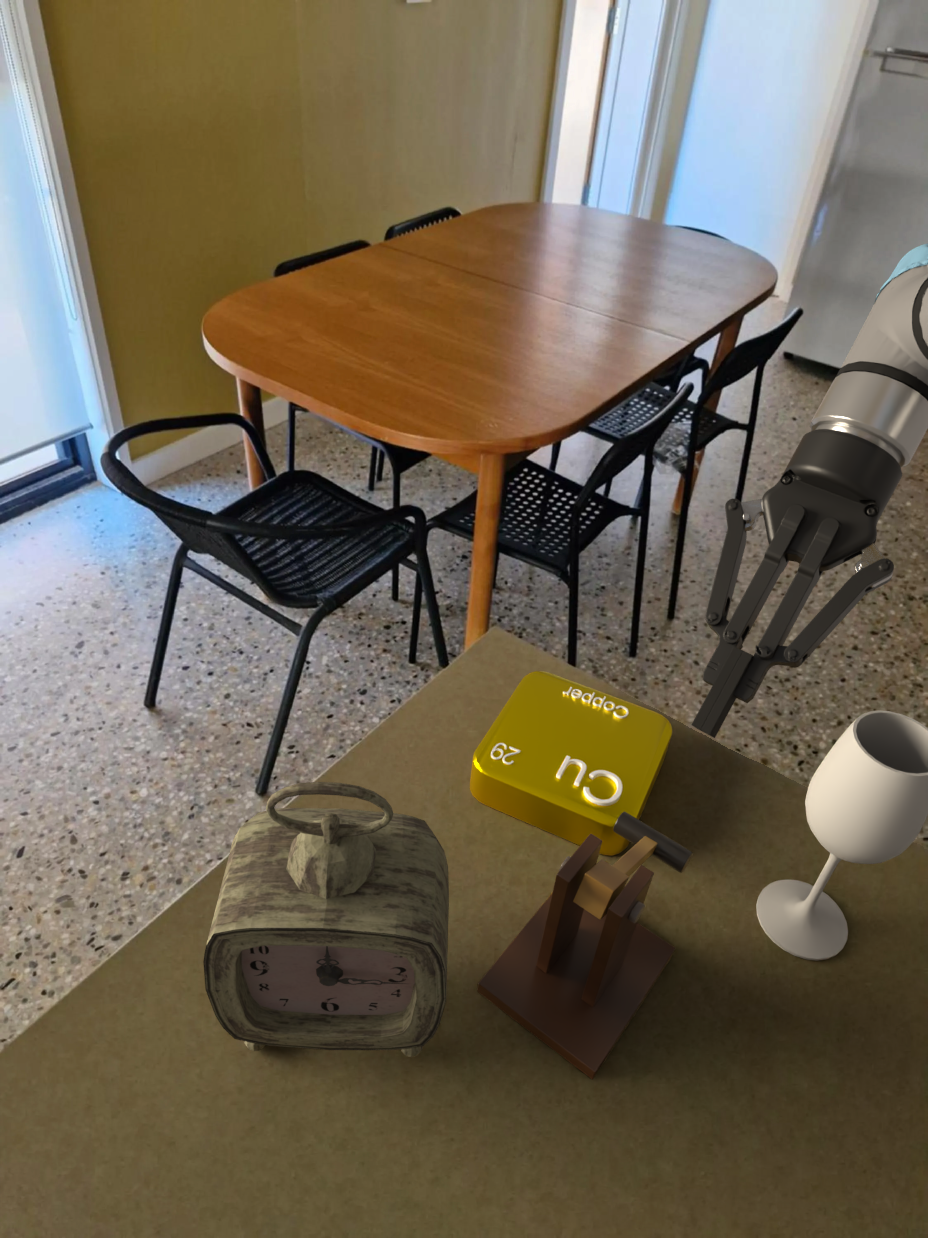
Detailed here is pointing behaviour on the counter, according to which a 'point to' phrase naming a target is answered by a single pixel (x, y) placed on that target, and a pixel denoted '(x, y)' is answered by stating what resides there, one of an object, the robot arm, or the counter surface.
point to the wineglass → (852, 825)
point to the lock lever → (627, 864)
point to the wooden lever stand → (579, 966)
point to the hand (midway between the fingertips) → (703, 731)
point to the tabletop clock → (331, 928)
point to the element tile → (570, 759)
